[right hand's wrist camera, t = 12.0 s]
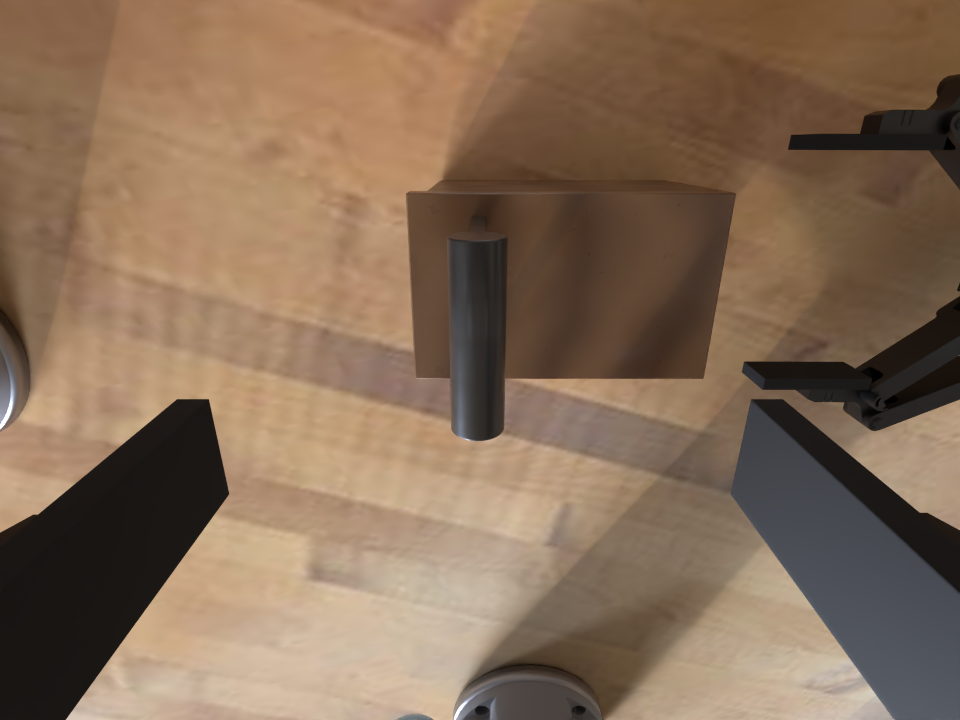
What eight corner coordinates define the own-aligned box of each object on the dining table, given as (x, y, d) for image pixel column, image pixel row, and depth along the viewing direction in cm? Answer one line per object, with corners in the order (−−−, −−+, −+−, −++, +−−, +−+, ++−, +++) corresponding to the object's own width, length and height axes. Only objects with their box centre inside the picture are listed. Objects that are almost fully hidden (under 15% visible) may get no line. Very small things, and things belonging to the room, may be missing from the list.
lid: (417, 370, 30) (391, 461, 21) (408, 191, 26) (373, 212, 18) (695, 371, 30) (784, 462, 21) (726, 191, 26) (847, 212, 18)
